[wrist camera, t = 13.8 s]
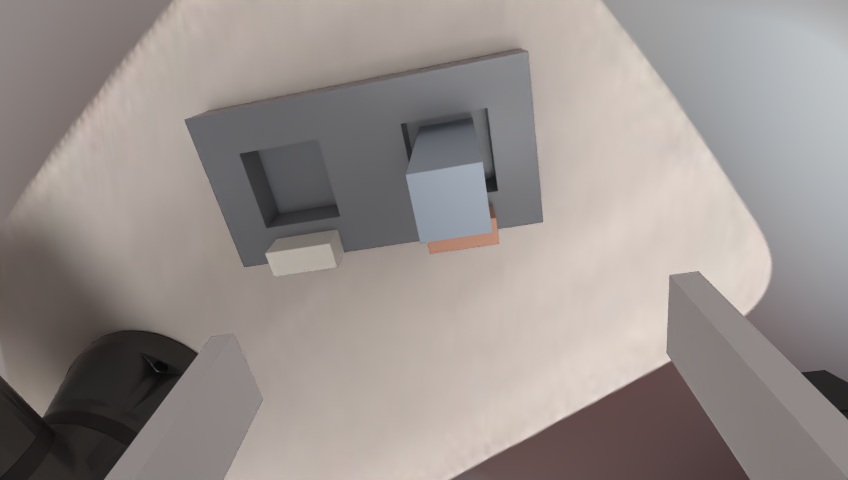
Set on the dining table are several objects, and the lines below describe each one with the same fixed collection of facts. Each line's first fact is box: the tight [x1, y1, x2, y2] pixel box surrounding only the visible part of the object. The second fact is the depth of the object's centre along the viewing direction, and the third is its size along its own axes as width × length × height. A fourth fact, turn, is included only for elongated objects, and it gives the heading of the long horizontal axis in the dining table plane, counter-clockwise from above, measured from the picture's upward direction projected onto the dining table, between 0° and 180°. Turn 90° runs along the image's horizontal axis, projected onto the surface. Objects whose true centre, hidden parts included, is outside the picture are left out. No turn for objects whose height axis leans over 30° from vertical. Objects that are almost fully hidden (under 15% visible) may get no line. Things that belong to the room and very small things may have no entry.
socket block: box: [185, 49, 543, 277], centre depth 34 cm, size 24×12×6 cm, turn 101°
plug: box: [406, 117, 492, 243], centre depth 30 cm, size 4×4×12 cm
